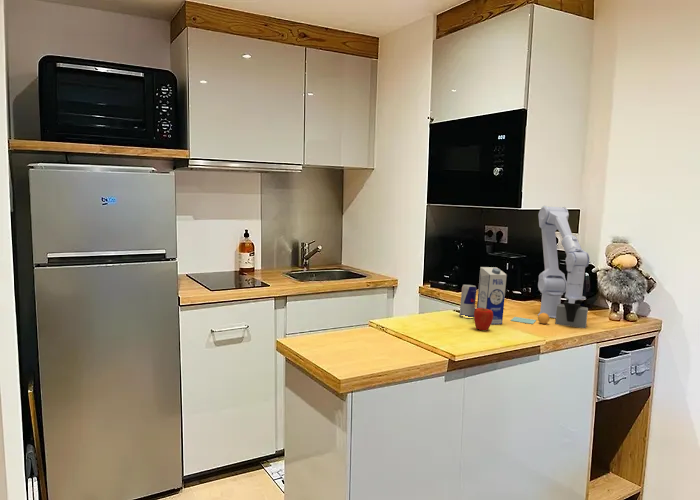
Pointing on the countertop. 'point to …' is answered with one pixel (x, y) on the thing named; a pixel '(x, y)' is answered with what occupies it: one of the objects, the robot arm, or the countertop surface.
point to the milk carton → (492, 292)
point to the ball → (543, 318)
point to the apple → (483, 318)
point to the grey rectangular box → (578, 321)
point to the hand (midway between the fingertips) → (571, 320)
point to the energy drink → (468, 300)
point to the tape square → (523, 320)
